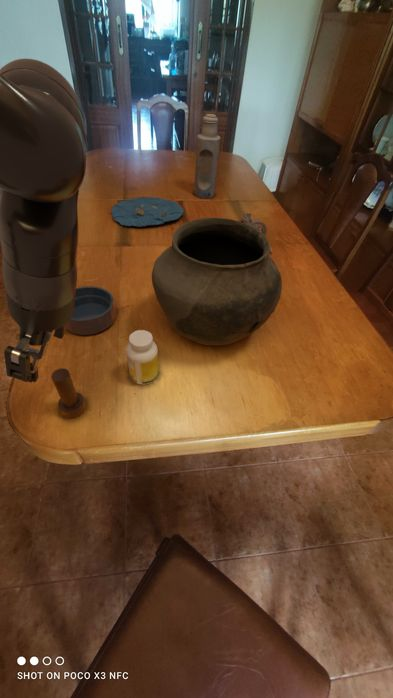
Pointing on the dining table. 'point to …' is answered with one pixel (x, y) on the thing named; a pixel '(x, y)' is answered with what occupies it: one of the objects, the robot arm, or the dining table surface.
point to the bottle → (207, 158)
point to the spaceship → (255, 225)
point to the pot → (217, 281)
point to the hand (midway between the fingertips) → (43, 355)
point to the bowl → (92, 311)
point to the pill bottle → (142, 357)
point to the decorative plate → (146, 211)
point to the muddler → (68, 395)
